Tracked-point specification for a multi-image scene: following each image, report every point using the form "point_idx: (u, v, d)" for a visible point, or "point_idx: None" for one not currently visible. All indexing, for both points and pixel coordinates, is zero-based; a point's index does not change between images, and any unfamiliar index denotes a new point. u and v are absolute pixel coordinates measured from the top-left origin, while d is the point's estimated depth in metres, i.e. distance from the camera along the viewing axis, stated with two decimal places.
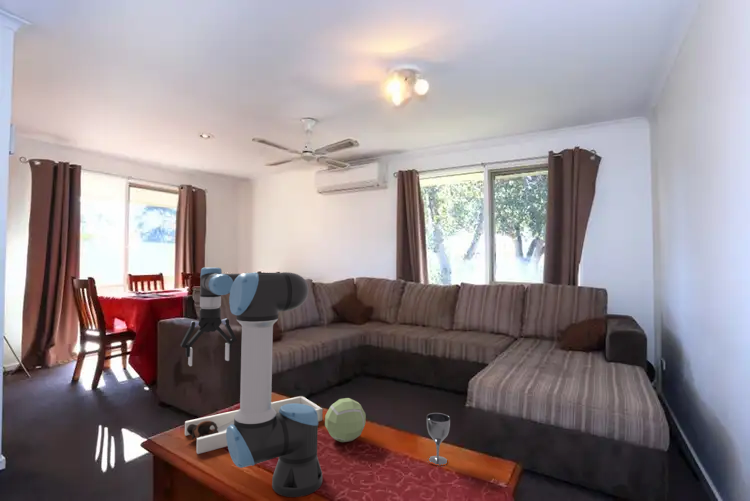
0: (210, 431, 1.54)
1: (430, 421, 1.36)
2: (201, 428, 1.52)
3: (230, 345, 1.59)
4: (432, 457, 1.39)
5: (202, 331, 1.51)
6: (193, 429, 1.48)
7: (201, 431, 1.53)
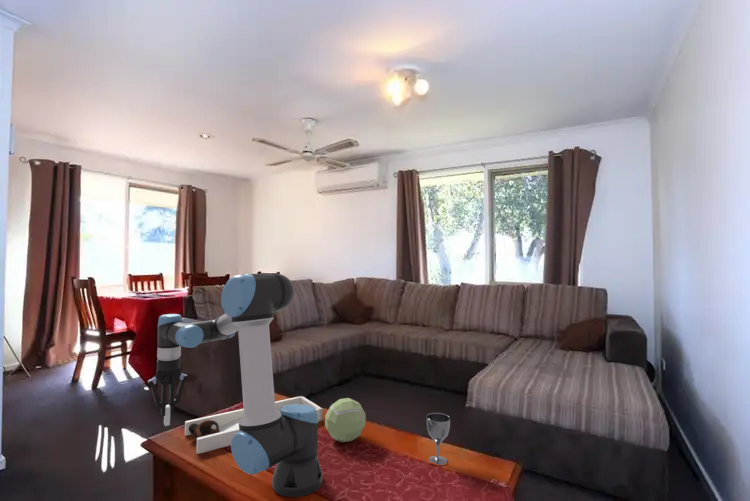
0: (211, 430, 1.55)
1: (430, 421, 1.36)
2: (202, 427, 1.53)
3: (171, 407, 1.43)
4: (432, 457, 1.39)
5: (165, 386, 1.41)
6: (195, 428, 1.49)
7: (202, 430, 1.53)
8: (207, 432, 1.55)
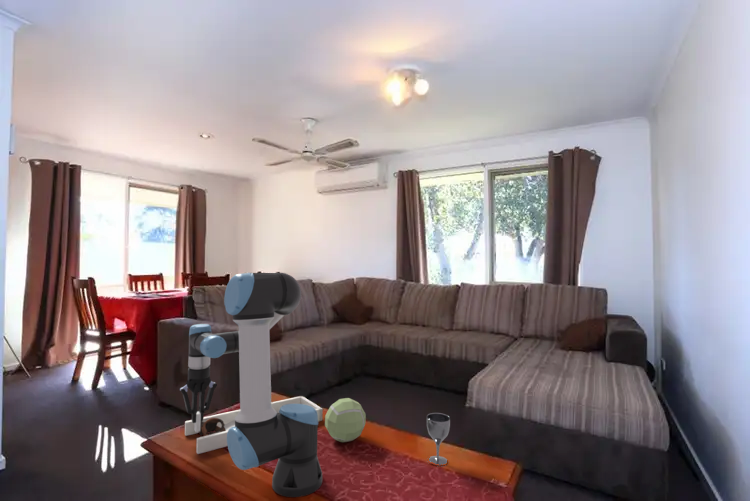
0: (217, 428, 1.56)
1: (430, 421, 1.36)
2: (208, 425, 1.55)
3: (201, 414, 1.49)
4: (432, 457, 1.39)
5: (196, 393, 1.47)
6: (200, 426, 1.51)
7: (208, 428, 1.55)
8: (213, 429, 1.56)
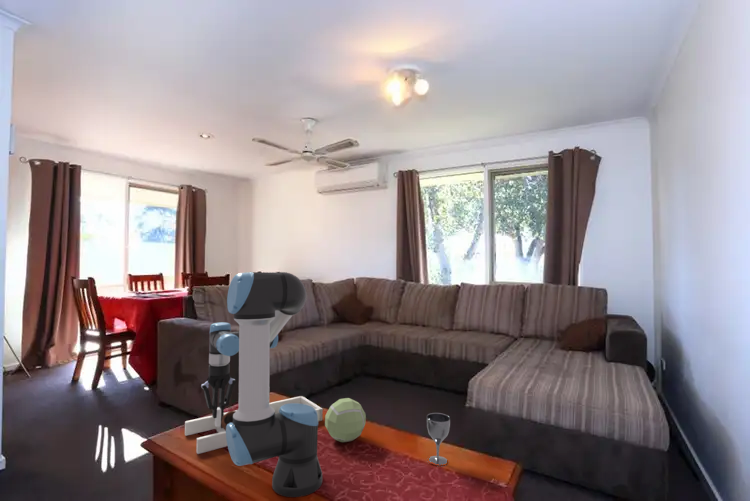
0: None
1: (430, 421, 1.36)
2: (228, 417, 1.60)
3: (221, 410, 1.53)
4: (432, 457, 1.39)
5: (216, 389, 1.51)
6: None
7: (228, 420, 1.60)
8: None
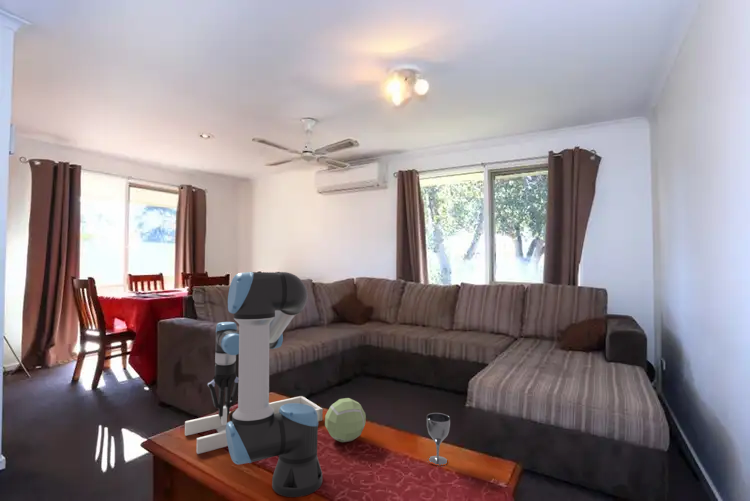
0: None
1: (430, 421, 1.36)
2: None
3: (227, 408, 1.55)
4: (432, 457, 1.39)
5: (222, 388, 1.53)
6: None
7: None
8: None
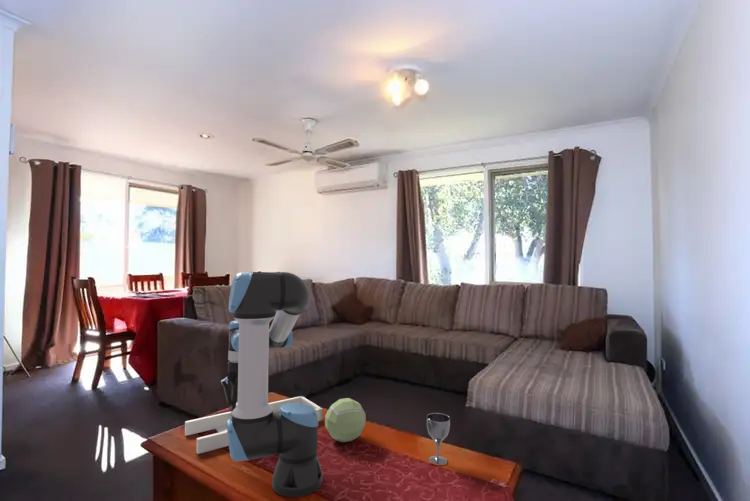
0: None
1: (430, 421, 1.36)
2: None
3: None
4: (432, 457, 1.39)
5: (235, 385, 1.56)
6: None
7: None
8: None
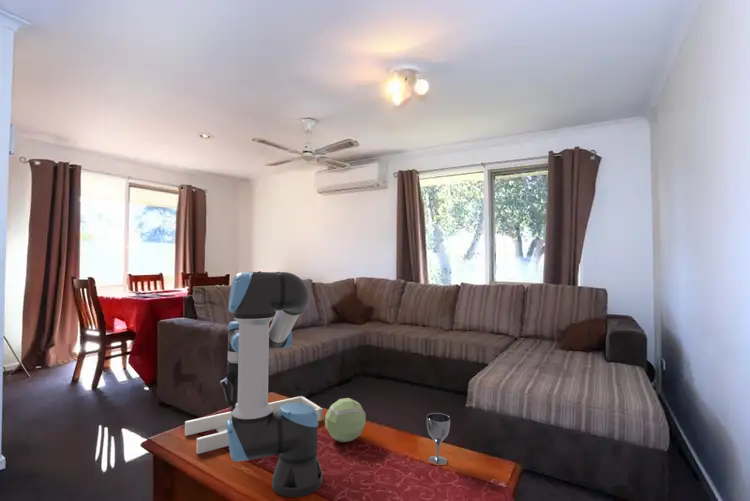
0: None
1: (430, 421, 1.36)
2: None
3: None
4: (432, 457, 1.39)
5: (235, 386, 1.56)
6: None
7: None
8: None
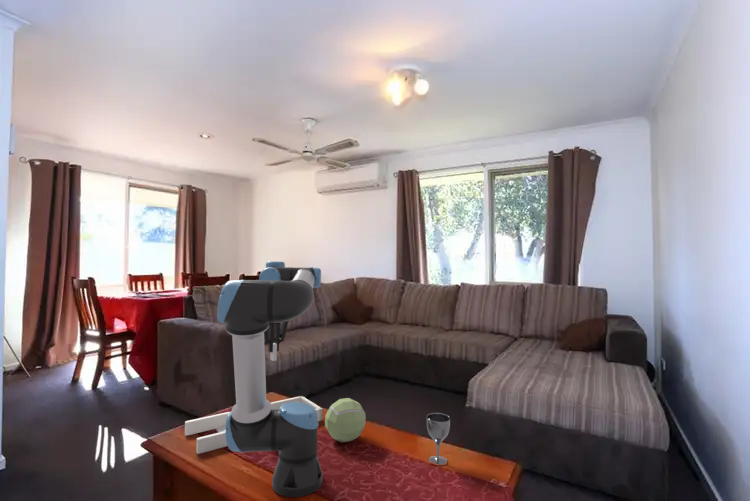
0: None
1: (430, 421, 1.36)
2: None
3: (277, 345, 1.59)
4: (432, 457, 1.39)
5: (273, 324, 1.57)
6: None
7: None
8: None
